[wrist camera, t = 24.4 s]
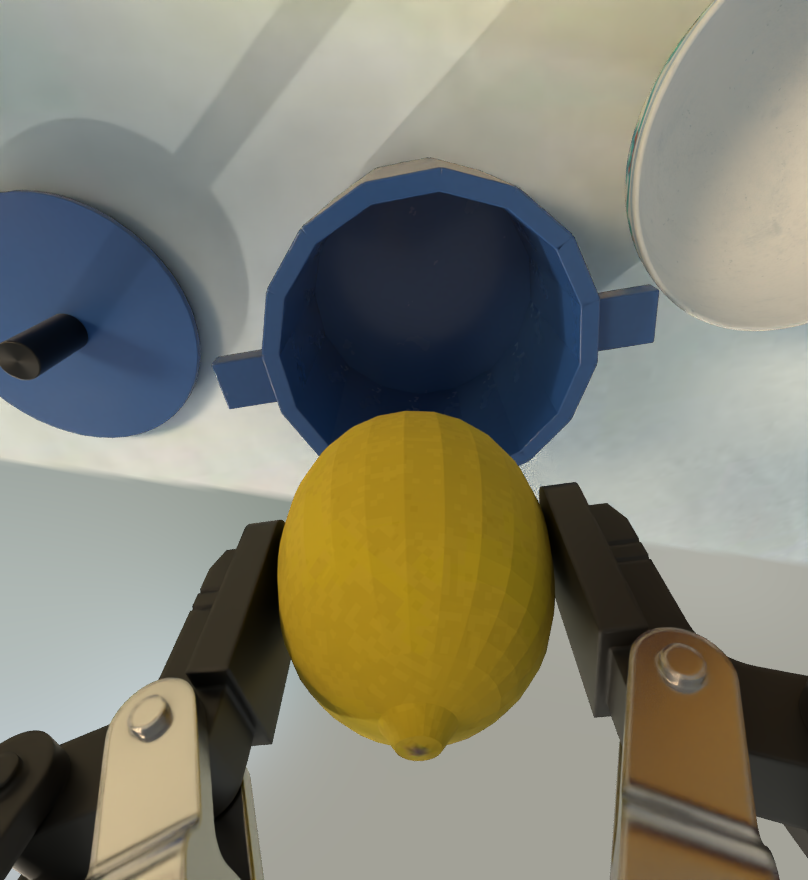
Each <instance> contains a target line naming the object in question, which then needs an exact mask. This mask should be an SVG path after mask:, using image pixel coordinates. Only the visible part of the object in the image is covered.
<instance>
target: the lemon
mask: <svg viewBox="0 0 808 880" xmlns="http://www.w3.org/2000/svg"><path fill="white" fill-rule="evenodd" d="M278 601H279V616H280V626H281V631H282V635H283V639H284V644H285V646H286V648H287V651H288V653H289V655H290V658H291V660H292V662H293V664H294V667H295V669H296V671H297V674H298V676H299V678H300V680H301V681H302V683H303V684H304V685H305V687H306V688H307V689H308V691H309V692H310V694H311V695H312V696H313V697H314V698H315V699H316V700H317V702H318V703H319V704H320V705H321V706H322V707H323V708H324V709H325V710H326V711H327V712H328V713H329V714H330V715H331V716H332V717H333V718H335V719H336V720H338V721H339V722H341V723H342V724H344V725H345V726H347V727H348V728H350V729H351V730H353V731H355V732H356V733H358V734H360V735H361V736H363V737H366V738H368V739H371V740H373V741H375V742H378V743H383V744H387V745H391V746H392V748H393V749H394V750H395V752H396V753H397V754H398V755H399V756H401V757H402V758H405V759H408V760H413V761H424V760H429V759H432V758H435V757H437V756H438V755H439V754H440V753H441V752H442V751H443V749H444V748H445V746H446V745H449V744H453V743H456V742H459V741H462V740H465V739H467V738H470V737H471V736H473V735H475V734H477V733H479V732H480V731H482V730H484V729H485V728H487V727H488V726H490V725H492V724H493V723H495V722H496V721H497V720H498V719H499V718H500V717H501V716H502V715H504V714H505V713H506V712H507V711H508V710H509V709H510V708H511V707H512V706H513V705H514V704H515V703H516V702H517V701H518V700H519V699H520V698H521V696H522V695H523V693H524V692H525V690H526V689H527V688H528V686H529V684H530V683H531V681H532V680H533V678H534V677H535V675H536V673H537V672H538V670H539V668H540V666H541V664H542V661H543V659H544V656H545V654H546V651H547V646H548V640H549V636H550V631H551V626H552V621H553V616H554V606H555V577H554V566H553V560H552V554H551V547H550V541H549V535H548V530H547V525H546V522H545V518H544V515H543V512H542V509H541V507H540V504H539V502H538V500H537V498H536V496H535V495H534V493H533V491H532V489H531V487H530V486H529V484H528V482H527V480H526V478H525V476H524V475H523V473H522V471H521V469H520V468H519V466H518V465H517V464H516V462H515V461H514V460H513V459H512V458H511V457H510V456H509V455H508V454H507V453H506V452H505V451H504V450H503V449H502V448H501V447H500V446H499V445H498V444H497V443H496V442H495V441H494V440H493V439H492V438H491V437H490V436H489V435H487V434H485V433H484V432H482V431H480V430H479V429H477V428H475V427H473V426H471V425H470V424H468V423H466V422H464V421H462V420H461V419H458V418H454V417H451V416H447V415H443V414H440V413H436V412H426V411H402V412H396V413H391V414H385V415H380V416H377V417H374V418H372V419H370V420H368V421H365V422H363V423H361V424H358V425H356V426H354V427H352V428H351V429H349V430H348V431H347V432H345V433H344V434H343V435H342V436H340V437H339V438H338V439H337V440H335V441H334V442H333V443H332V444H330V445H329V446H328V447H327V448H326V449H325V450H324V451H323V452H322V453H321V455H320V456H319V458H318V459H317V460H316V462H315V463H314V464H313V466H312V467H311V469H310V470H309V471H308V473H307V474H306V476H305V477H304V479H303V480H302V482H301V483H300V485H299V487H298V489H297V491H296V493H295V496H294V499H293V501H292V504H291V507H290V510H289V514H288V516H287V520H286V523H285V526H284V529H283V533H282V537H281V541H280V547H279V555H278Z"/></svg>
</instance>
